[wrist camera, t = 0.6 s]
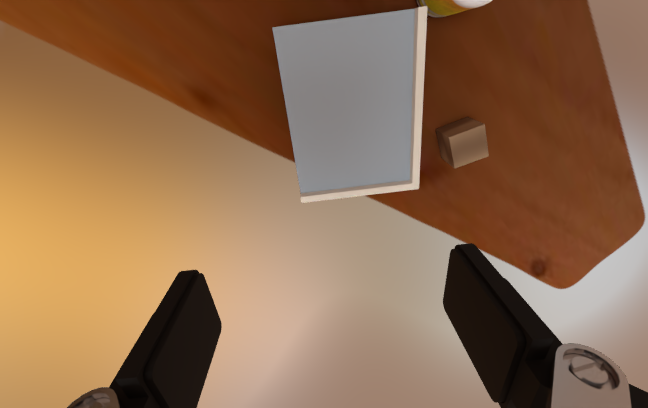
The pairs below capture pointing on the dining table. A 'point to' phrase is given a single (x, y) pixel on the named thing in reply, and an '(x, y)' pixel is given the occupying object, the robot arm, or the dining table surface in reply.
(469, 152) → the light brown cube
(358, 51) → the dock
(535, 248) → the dining table surface
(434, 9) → the supplement bottle
